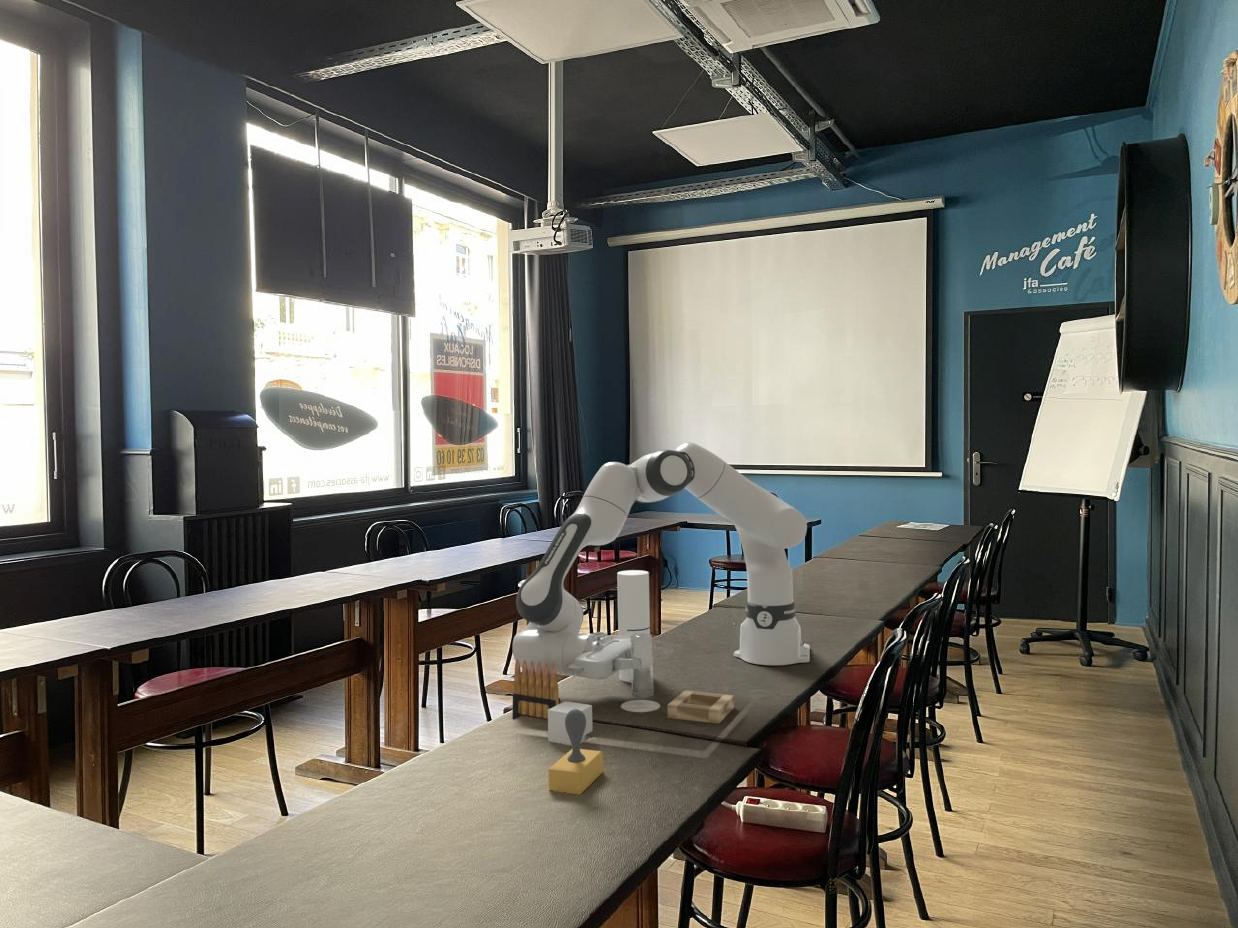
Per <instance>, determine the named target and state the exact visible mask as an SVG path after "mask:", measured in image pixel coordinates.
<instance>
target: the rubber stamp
mask: <svg viewBox="0 0 1238 928" xmlns="http://www.w3.org/2000/svg"><path fill="white" fill-rule="evenodd" d="M565 727H566V731H567V733H568V736H569V738H570V741H571V744H572V746H571V749H570V750H569V751H568V752H566V754H564V755H563V756H562V757H561V758H560V759H558V760H557V761H556V762H555V763H554V764H553V765H551V766H550V767H549V768H548V772H547V773H548V790H549V791H550V790H553V791H552V792H556V791H559V792H558V793H564V792H566V793H565V794H571V793H572V795H573V794H574V795H578V796H579V795H581V794H583V792H584V791H585V790H587V788H588V787H589V786H590V785H592V783H593V782H594V781H596V779H598V778H599V776H600V775H601V774H602V773H604V753H603V751H601V750H593V749H583V748H581V744H582V743H581V740H582V737H583V734H584V731H585V727H586V717H585V715H584V713H583V712H582V711H580V710H578V709H573V710H571V711H569V712H568V714H567V716H566V718H565ZM580 743H581V744H580Z"/></svg>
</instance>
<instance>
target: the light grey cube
mask: <svg viewBox="0 0 1238 928" xmlns="http://www.w3.org/2000/svg"><path fill="white" fill-rule="evenodd" d="M573 709H578V710H580V711H582V712H583V713H584V715H585V717H586V727H585V731H584V734H583V737H582V740H581V743H580V745H581V744H583V743H584V742H585V741H587V740H589V739H590V738H592V737H593V735H588V734H590V733H592V732H593V706H592V704H586V703H579V702H574V701H573V702H572V701H565V700H564V701H563V702H560V704H558V705H556V706H554V707H552V708H551V709H549V710H548V720H547V732H548V733H547V734H548V735H547V736H548V737H547V739H548V742H550V743H555V742H556V743H555V744H560V743H561V745H566V746H571V747H572V744H571V741H570V738H569V736H568V733H567V731H566V727H565V718H566V716H567V714H568V712H569V711H571V710H573Z"/></svg>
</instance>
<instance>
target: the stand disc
mask: <svg viewBox="0 0 1238 928" xmlns="http://www.w3.org/2000/svg"><path fill="white" fill-rule="evenodd" d="M620 708H621V709H622V710H625V711H626V712H633V713H646V712H647V713H648V712H649V713H650V712H653V711H656V710H659V708H661V704H660V703H659V702H657V701H653V700H650V699H649V700H647V699H635V700H629V701H625V702H624V703H622V704H621V705H620Z"/></svg>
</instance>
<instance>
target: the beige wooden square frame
mask: <svg viewBox="0 0 1238 928" xmlns="http://www.w3.org/2000/svg"><path fill="white" fill-rule="evenodd" d="M666 706H667V707H666V708H667V709H666V710H667V718H668V719H675V720H685V721H691V722H692V721H693V722H701V723H702V722H703V723H710V724H711V723H712V724H721V722H722V721H723V720H724V719H725V718H726V717H727V716H728V715H729V714H730V713H731V712H732V711H733V710H734V708H735V695H734V694H727V693H726V694H723V693H716V692H715V693H714V692H706V691H705V692H704V691H694V690H692V691H691V690H684V691H682V692H681V693H680V694H679V695H677V696H676V697H674V699H673V700H671V701H670V702H669V703H668V704H666Z"/></svg>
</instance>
